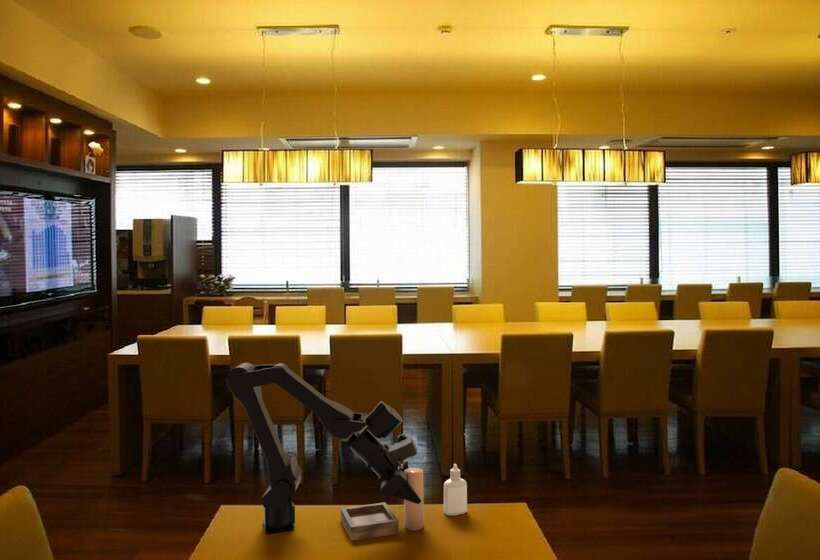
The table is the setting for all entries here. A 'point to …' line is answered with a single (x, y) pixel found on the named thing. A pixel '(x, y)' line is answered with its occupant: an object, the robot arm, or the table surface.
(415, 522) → the peach tall rounded piece
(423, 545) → the table surface
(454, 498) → the eye dropper bottle
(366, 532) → the square wooden tray
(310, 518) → the table surface
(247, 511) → the table surface
